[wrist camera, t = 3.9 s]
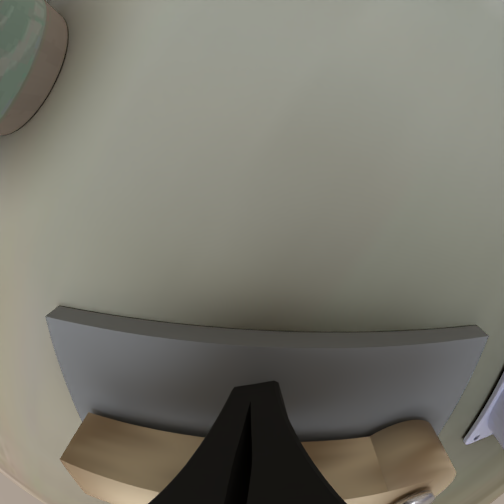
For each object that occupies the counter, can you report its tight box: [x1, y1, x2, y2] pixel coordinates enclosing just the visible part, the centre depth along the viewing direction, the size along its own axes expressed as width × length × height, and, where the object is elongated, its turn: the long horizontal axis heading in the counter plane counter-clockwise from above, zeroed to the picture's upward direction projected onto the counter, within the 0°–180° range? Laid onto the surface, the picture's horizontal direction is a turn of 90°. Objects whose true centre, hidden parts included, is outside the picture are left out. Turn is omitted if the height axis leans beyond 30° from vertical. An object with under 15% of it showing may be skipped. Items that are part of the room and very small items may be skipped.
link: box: [60, 412, 456, 504], centre depth 9 cm, size 16×4×3 cm, turn 87°
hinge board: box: [45, 306, 489, 442], centre depth 12 cm, size 18×24×1 cm
